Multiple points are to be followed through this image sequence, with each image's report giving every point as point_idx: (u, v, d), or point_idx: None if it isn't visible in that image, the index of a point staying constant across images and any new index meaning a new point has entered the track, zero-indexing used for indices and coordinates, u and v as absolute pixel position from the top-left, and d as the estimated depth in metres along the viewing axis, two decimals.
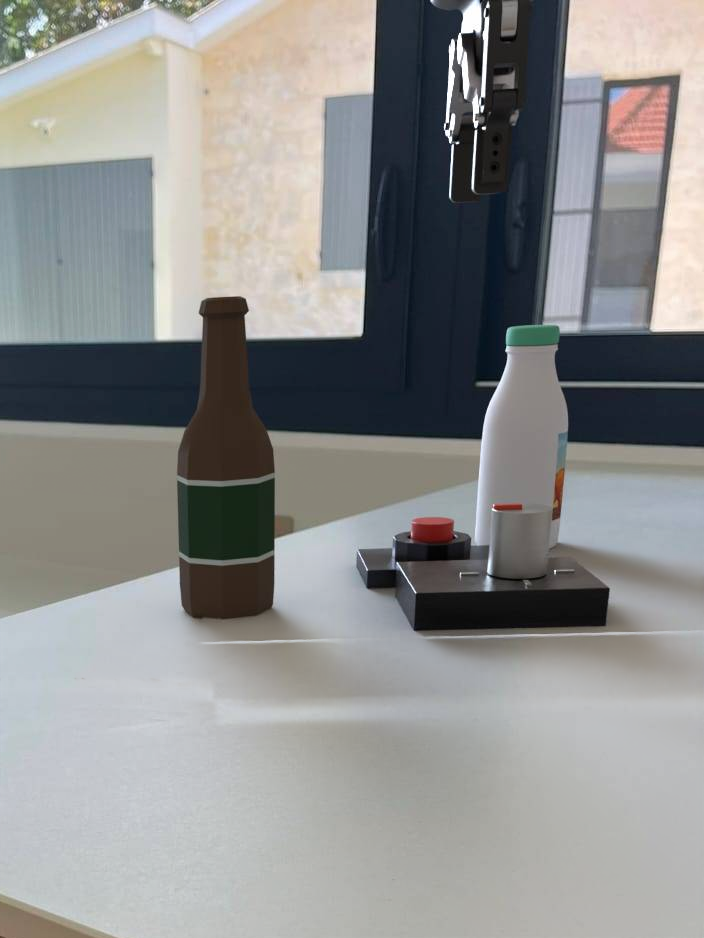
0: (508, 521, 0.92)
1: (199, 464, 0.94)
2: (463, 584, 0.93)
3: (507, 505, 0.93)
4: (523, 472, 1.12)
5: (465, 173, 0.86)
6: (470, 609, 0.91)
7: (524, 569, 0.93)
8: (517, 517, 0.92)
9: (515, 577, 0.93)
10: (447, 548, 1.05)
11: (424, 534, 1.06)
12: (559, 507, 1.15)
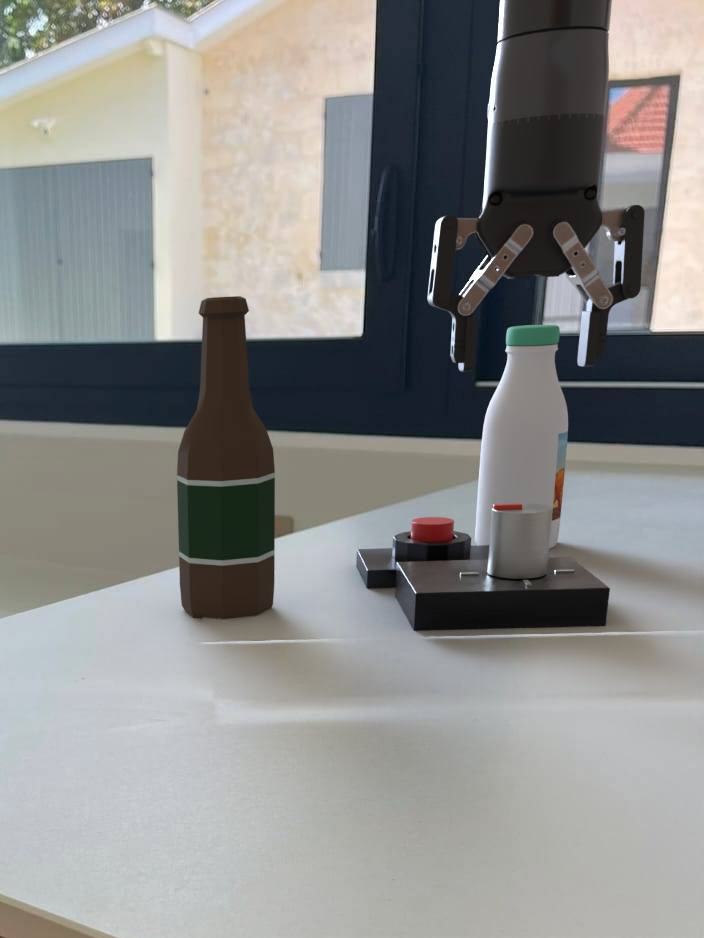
0: (508, 521, 0.92)
1: (199, 464, 0.94)
2: (463, 584, 0.93)
3: (507, 505, 0.93)
4: (523, 472, 1.12)
5: (582, 339, 0.88)
6: (470, 609, 0.91)
7: (524, 569, 0.93)
8: (517, 517, 0.92)
9: (515, 577, 0.93)
10: (447, 548, 1.05)
11: (424, 534, 1.06)
12: (559, 507, 1.15)
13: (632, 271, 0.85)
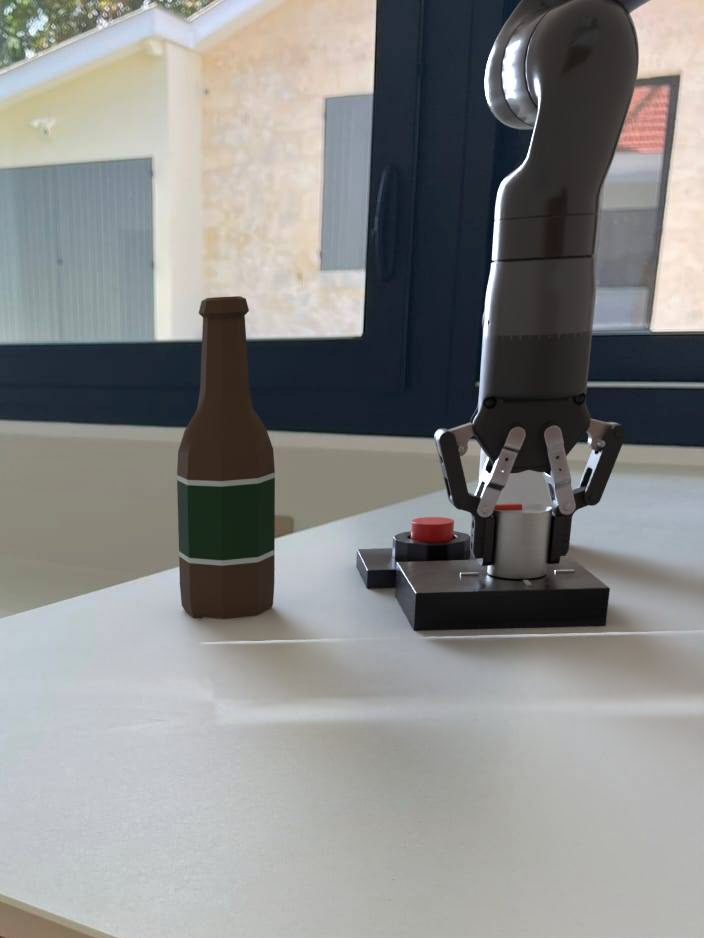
0: (508, 521, 0.92)
1: (199, 464, 0.94)
2: (463, 584, 0.93)
3: (507, 505, 0.93)
4: (523, 472, 1.12)
5: None
6: (470, 609, 0.91)
7: (524, 569, 0.93)
8: (517, 517, 0.92)
9: (515, 577, 0.93)
10: (447, 548, 1.05)
11: (424, 534, 1.06)
12: None
13: (598, 482, 0.91)
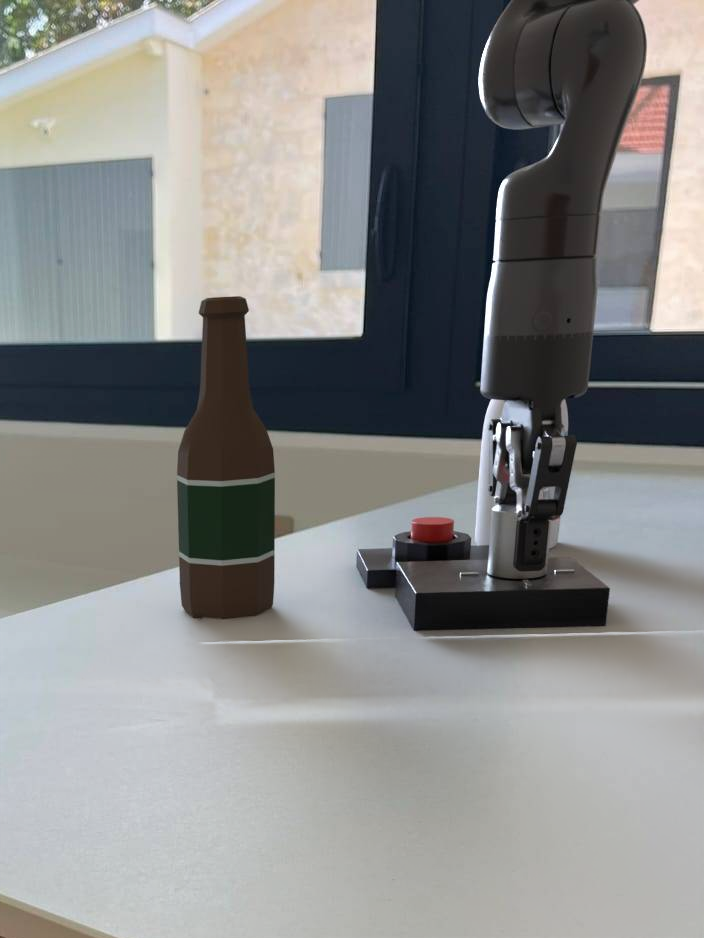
0: None
1: (199, 464, 0.94)
2: (463, 584, 0.93)
3: None
4: None
5: None
6: (470, 609, 0.91)
7: None
8: None
9: (546, 571, 0.95)
10: (447, 548, 1.05)
11: (424, 534, 1.06)
12: None
13: None
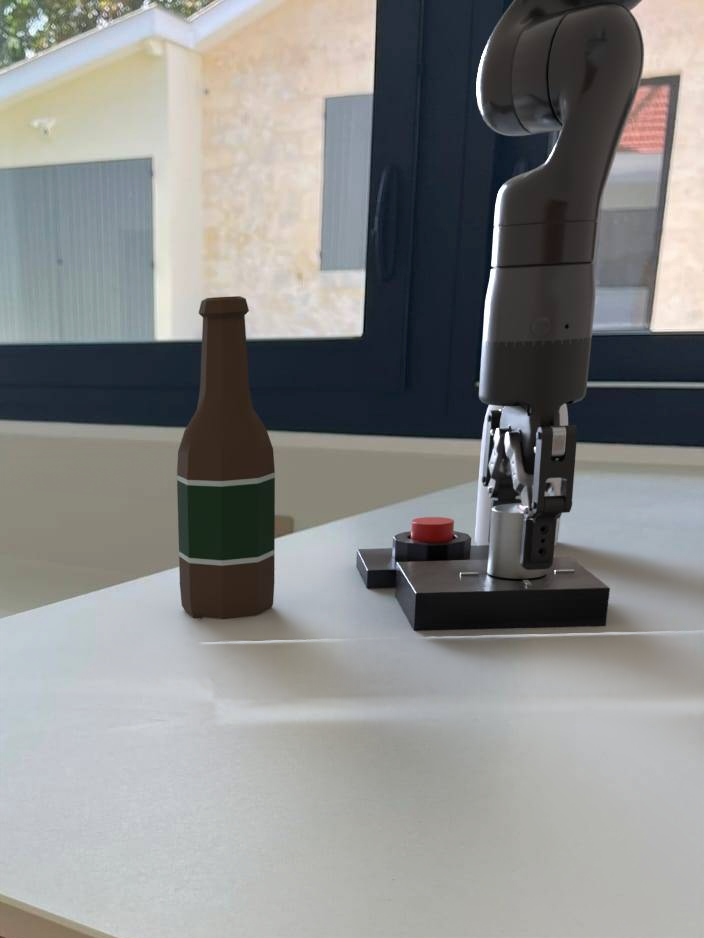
0: None
1: (199, 464, 0.94)
2: (463, 584, 0.93)
3: None
4: None
5: None
6: (470, 609, 0.91)
7: None
8: None
9: (546, 571, 0.95)
10: (447, 548, 1.05)
11: (424, 534, 1.06)
12: None
13: None
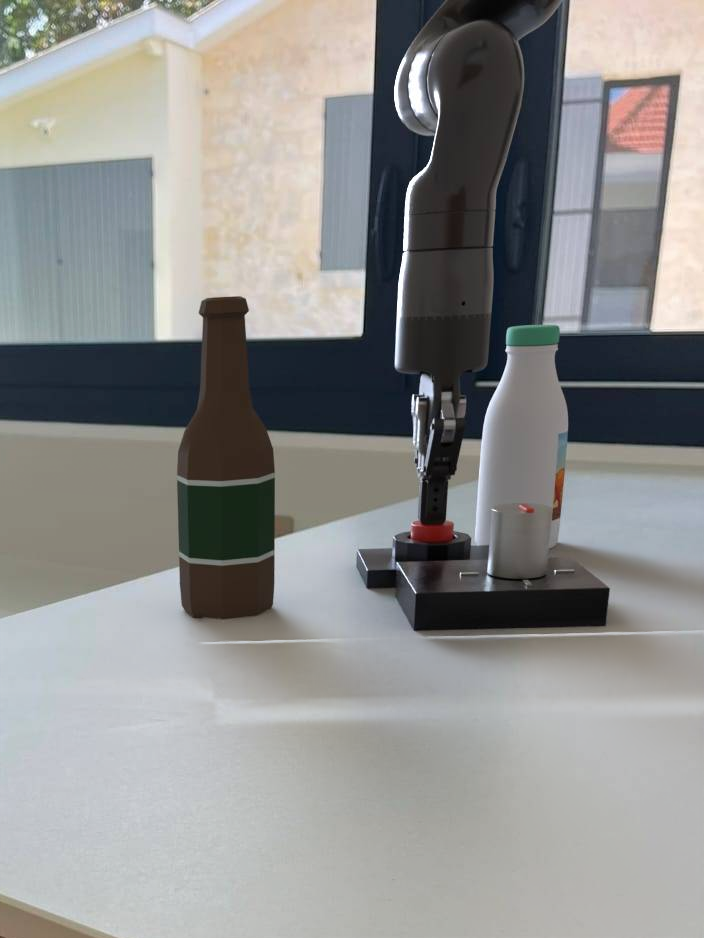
0: (549, 518, 0.92)
1: (199, 464, 0.94)
2: (463, 584, 0.93)
3: (528, 507, 0.92)
4: (523, 472, 1.12)
5: None
6: (470, 609, 0.91)
7: None
8: None
9: (546, 571, 0.95)
10: (447, 548, 1.05)
11: (423, 537, 1.06)
12: (559, 507, 1.15)
13: None
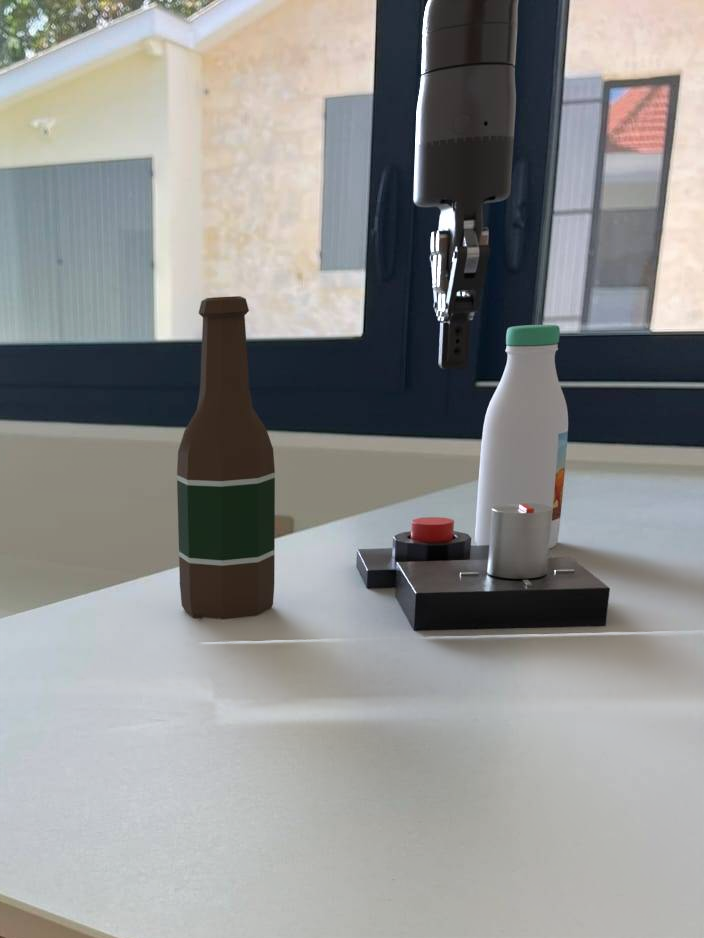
0: (549, 518, 0.92)
1: (199, 464, 0.94)
2: (463, 584, 0.93)
3: (528, 507, 0.92)
4: (523, 472, 1.12)
5: None
6: (470, 609, 0.91)
7: None
8: None
9: (546, 571, 0.95)
10: (447, 548, 1.05)
11: (424, 534, 1.06)
12: (559, 507, 1.15)
13: None
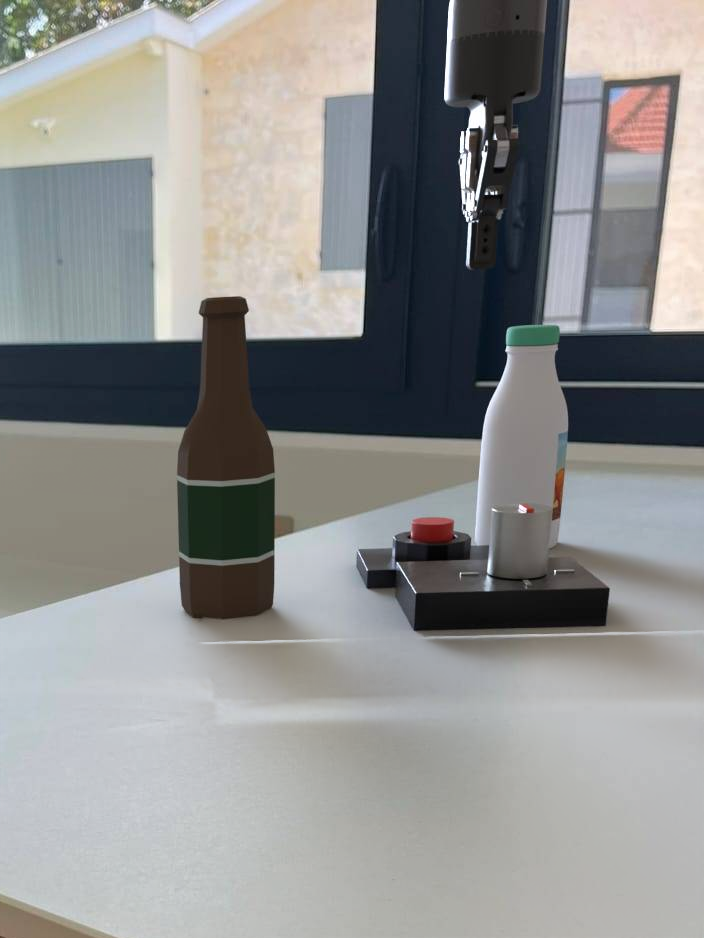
0: (549, 518, 0.92)
1: (199, 464, 0.94)
2: (463, 584, 0.93)
3: (528, 507, 0.92)
4: (523, 472, 1.12)
5: None
6: (470, 609, 0.91)
7: None
8: None
9: (546, 571, 0.95)
10: (447, 548, 1.05)
11: (424, 534, 1.06)
12: (559, 507, 1.15)
13: None
